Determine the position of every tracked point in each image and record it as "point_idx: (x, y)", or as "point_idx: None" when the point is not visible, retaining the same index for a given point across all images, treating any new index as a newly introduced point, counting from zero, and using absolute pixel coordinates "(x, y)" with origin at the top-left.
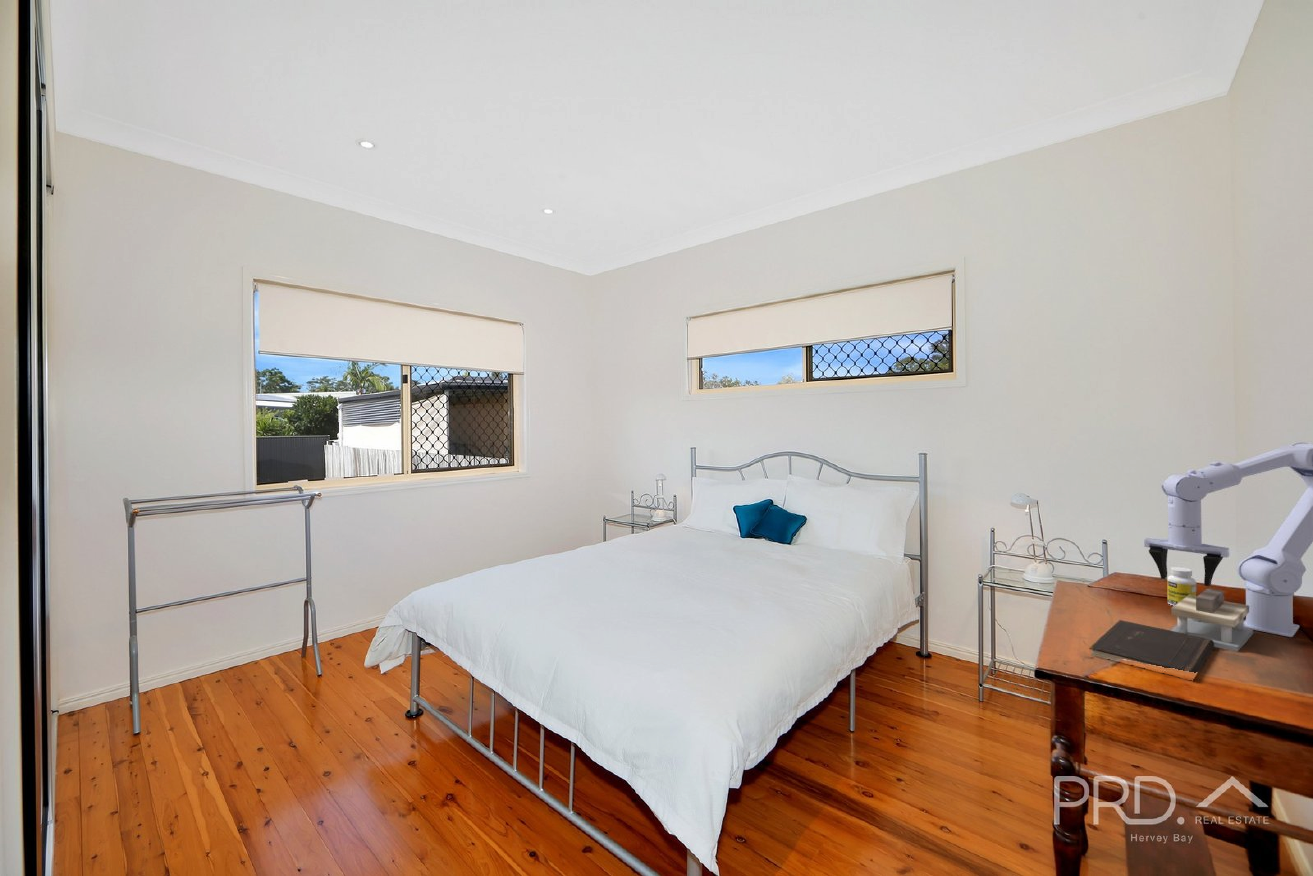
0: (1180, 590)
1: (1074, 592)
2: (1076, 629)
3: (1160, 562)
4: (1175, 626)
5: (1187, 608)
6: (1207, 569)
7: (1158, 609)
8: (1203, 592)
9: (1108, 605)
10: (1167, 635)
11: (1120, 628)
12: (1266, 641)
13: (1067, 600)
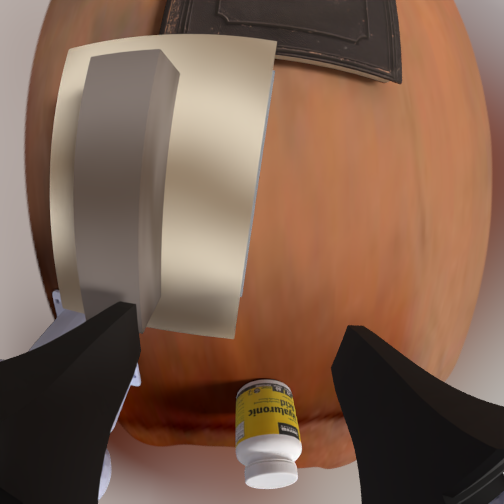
0: (268, 417)
1: (454, 338)
2: (443, 30)
3: (428, 394)
4: (261, 146)
5: (214, 77)
6: (47, 366)
7: (311, 341)
8: (133, 206)
9: (416, 291)
10: (269, 2)
11: (380, 7)
12: None
13: (478, 266)
